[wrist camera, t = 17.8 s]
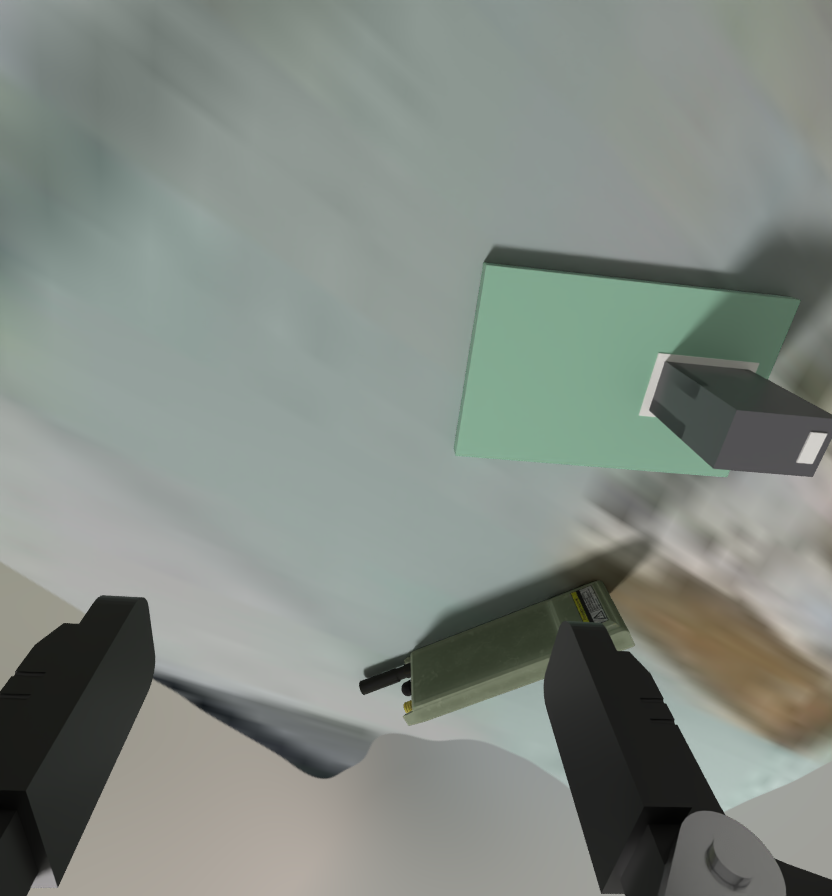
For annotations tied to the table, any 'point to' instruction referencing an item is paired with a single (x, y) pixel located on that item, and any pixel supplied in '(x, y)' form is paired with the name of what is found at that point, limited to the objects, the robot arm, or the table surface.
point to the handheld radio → (496, 654)
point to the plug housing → (741, 419)
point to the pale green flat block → (599, 364)
